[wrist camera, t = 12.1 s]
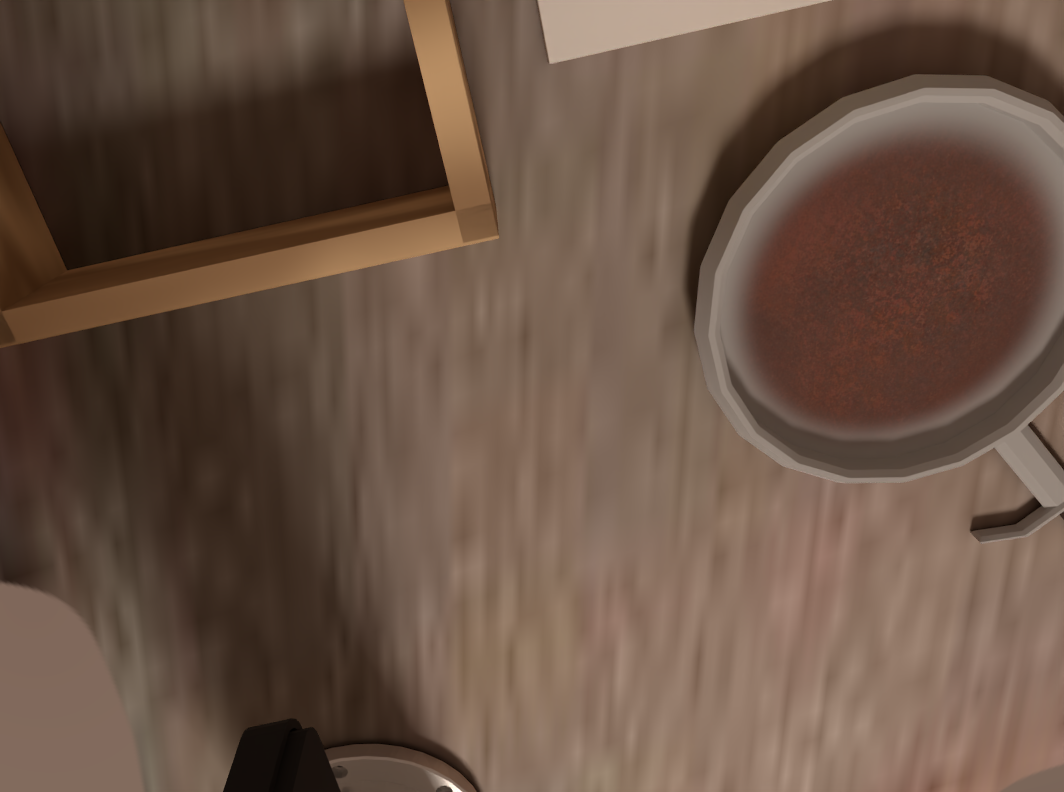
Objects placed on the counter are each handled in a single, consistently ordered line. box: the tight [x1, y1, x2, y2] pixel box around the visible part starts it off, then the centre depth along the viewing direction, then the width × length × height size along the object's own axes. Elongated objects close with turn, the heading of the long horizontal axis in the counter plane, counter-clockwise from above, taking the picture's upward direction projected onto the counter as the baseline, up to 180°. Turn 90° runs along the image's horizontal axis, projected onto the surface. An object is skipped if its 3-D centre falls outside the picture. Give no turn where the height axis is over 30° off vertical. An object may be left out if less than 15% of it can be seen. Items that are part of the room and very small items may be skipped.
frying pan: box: [694, 74, 1064, 544], centre depth 37 cm, size 17×3×28 cm
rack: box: [0, 0, 499, 348], centre depth 28 cm, size 16×18×5 cm
